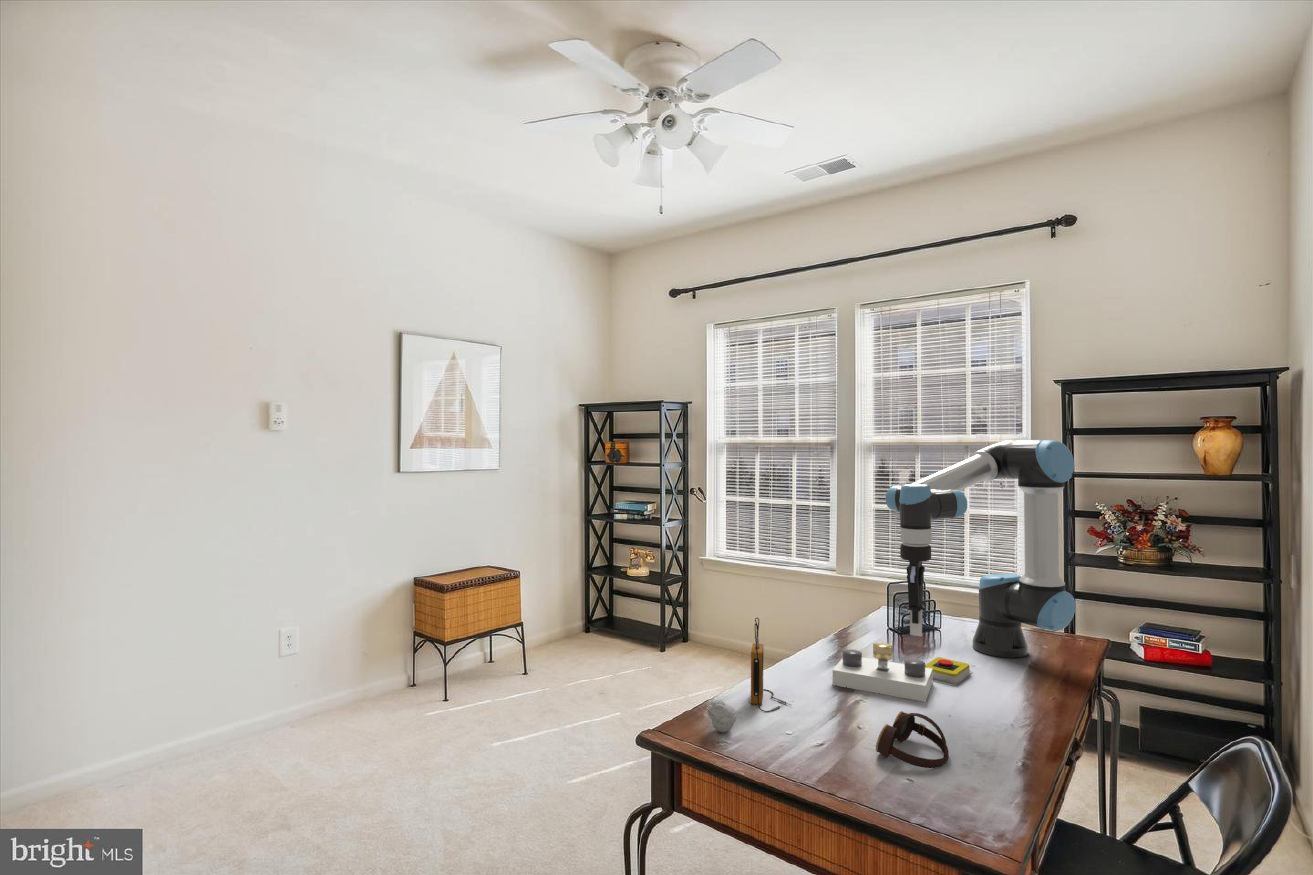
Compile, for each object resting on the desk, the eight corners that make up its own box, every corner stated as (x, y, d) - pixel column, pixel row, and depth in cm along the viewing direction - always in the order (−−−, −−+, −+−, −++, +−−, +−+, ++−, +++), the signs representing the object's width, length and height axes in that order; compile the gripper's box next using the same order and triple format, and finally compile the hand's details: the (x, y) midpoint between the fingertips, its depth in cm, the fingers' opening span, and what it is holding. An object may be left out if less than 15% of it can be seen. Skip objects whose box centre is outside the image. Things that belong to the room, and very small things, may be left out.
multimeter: (792, 714, 161) (792, 630, 161) (749, 711, 163) (749, 627, 163) (792, 691, 176) (792, 614, 176) (753, 688, 178) (753, 611, 178)
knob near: (926, 687, 178) (926, 661, 178) (923, 694, 174) (923, 666, 174) (906, 684, 180) (906, 657, 180) (902, 690, 176) (903, 663, 176)
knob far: (863, 676, 186) (863, 651, 186) (859, 682, 181) (859, 656, 181) (844, 673, 188) (845, 648, 188) (840, 679, 184) (840, 653, 184)
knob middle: (894, 670, 182) (894, 644, 182) (890, 676, 177) (891, 649, 177) (874, 667, 184) (875, 641, 184) (871, 673, 180) (871, 646, 180)
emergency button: (919, 663, 186) (940, 650, 197) (919, 679, 186) (940, 665, 197) (954, 671, 180) (973, 657, 191) (954, 688, 180) (973, 673, 191)
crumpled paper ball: (701, 728, 154) (701, 697, 154) (729, 723, 156) (729, 693, 156) (713, 739, 148) (713, 707, 148) (742, 734, 151) (742, 703, 151)
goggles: (894, 731, 152) (905, 690, 151) (954, 762, 144) (966, 719, 143) (867, 756, 140) (878, 712, 139) (931, 791, 132) (943, 745, 131)
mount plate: (932, 683, 182) (932, 668, 181) (925, 701, 169) (925, 685, 169) (845, 668, 193) (845, 654, 193) (832, 684, 180) (832, 669, 180)
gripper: (904, 539, 184) (904, 626, 185) (896, 546, 173) (896, 639, 173) (934, 541, 181) (934, 629, 181) (927, 549, 169) (928, 643, 170)
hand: (916, 634), depth 177 cm, fingers closed
